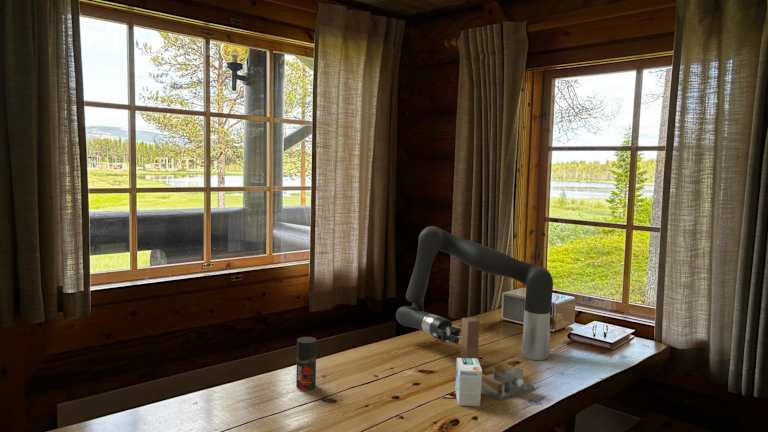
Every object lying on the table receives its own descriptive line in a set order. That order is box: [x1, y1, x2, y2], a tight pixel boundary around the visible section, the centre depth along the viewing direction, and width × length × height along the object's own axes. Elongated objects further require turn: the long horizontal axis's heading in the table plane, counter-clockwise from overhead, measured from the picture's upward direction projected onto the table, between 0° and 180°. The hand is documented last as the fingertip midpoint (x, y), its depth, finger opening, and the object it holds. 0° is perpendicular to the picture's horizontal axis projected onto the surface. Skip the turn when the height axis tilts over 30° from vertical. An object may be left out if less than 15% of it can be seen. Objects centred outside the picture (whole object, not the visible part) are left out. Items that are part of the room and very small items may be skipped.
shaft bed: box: [481, 368, 535, 401], centre depth 175 cm, size 16×16×7 cm
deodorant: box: [295, 336, 318, 392], centre depth 170 cm, size 6×6×15 cm
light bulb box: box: [454, 357, 482, 407], centre depth 166 cm, size 11×7×11 cm, turn 178°
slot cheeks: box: [481, 365, 525, 393], centre depth 176 cm, size 12×11×2 cm
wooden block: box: [459, 316, 486, 375], centre depth 186 cm, size 9×4×18 cm, turn 21°
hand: (467, 339), depth 188 cm, fingers open, 8 cm apart
